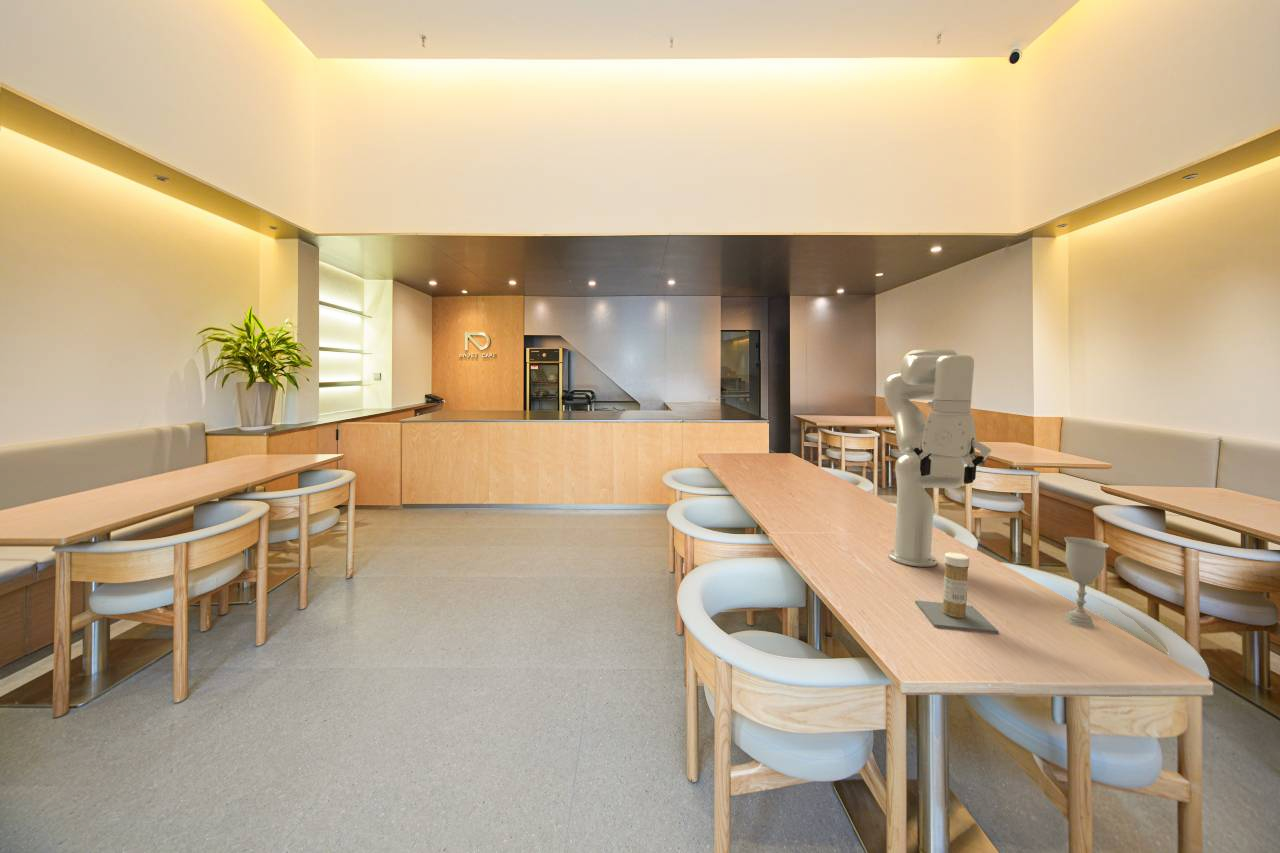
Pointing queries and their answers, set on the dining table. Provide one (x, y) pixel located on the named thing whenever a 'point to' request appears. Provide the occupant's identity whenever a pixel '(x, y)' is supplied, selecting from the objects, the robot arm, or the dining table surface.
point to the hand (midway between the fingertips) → (946, 478)
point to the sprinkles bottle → (955, 585)
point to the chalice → (1083, 573)
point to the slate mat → (969, 623)
